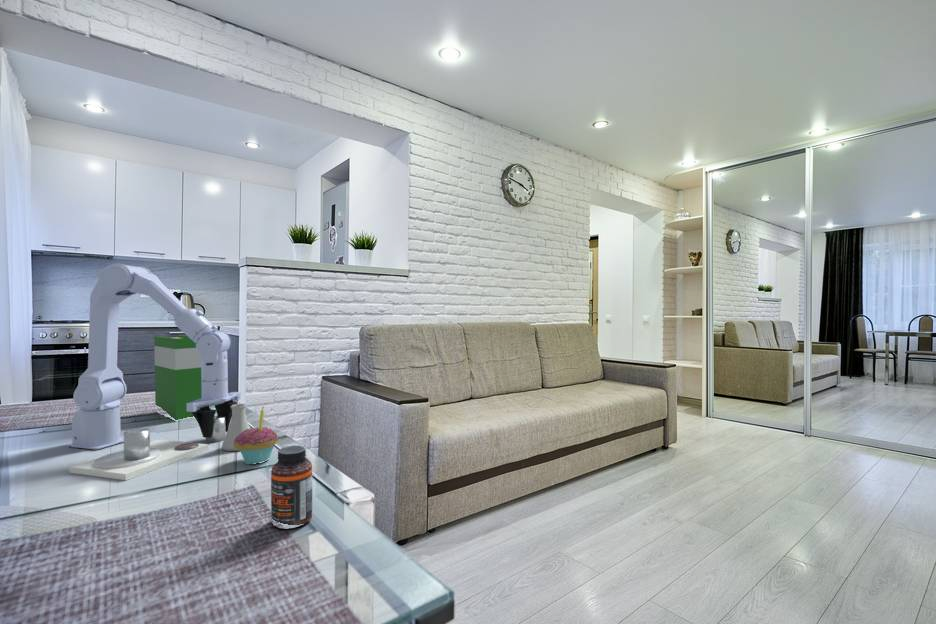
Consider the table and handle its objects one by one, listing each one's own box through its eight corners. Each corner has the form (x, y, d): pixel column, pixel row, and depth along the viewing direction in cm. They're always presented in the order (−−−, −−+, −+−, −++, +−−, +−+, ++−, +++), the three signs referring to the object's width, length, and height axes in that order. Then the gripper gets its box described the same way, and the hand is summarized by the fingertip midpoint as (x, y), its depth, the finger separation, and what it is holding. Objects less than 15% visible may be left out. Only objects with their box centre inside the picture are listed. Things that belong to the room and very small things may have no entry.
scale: (69, 472, 90) (69, 463, 90) (158, 444, 108) (158, 436, 108) (126, 480, 86) (125, 471, 86) (208, 449, 104) (208, 441, 104)
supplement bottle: (262, 529, 67) (261, 454, 67) (285, 511, 73) (284, 442, 73) (299, 533, 66) (298, 456, 66) (319, 514, 72) (319, 443, 72)
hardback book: (155, 412, 141) (154, 336, 140) (182, 408, 146) (181, 334, 146) (176, 421, 129) (174, 338, 129) (204, 416, 135) (202, 337, 135)
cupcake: (286, 456, 99) (286, 402, 99) (257, 470, 91) (256, 411, 91) (256, 452, 102) (255, 400, 102) (224, 465, 94) (223, 408, 94)
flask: (242, 453, 102) (241, 409, 102) (214, 451, 103) (213, 407, 103) (262, 443, 109) (262, 402, 109) (236, 441, 110) (236, 401, 110)
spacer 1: (120, 458, 93) (119, 432, 93) (144, 452, 97) (143, 427, 97) (129, 462, 91) (129, 435, 91) (154, 456, 94) (153, 430, 94)
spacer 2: (201, 441, 110) (200, 419, 110) (215, 436, 114) (215, 415, 114) (215, 443, 109) (215, 420, 109) (229, 438, 113) (229, 416, 113)
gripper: (203, 385, 103) (203, 444, 104) (249, 375, 117) (250, 427, 118) (179, 384, 105) (179, 441, 106) (227, 374, 119) (228, 425, 120)
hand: (215, 434), depth 112 cm, fingers closed on spacer 2, 4 cm apart
